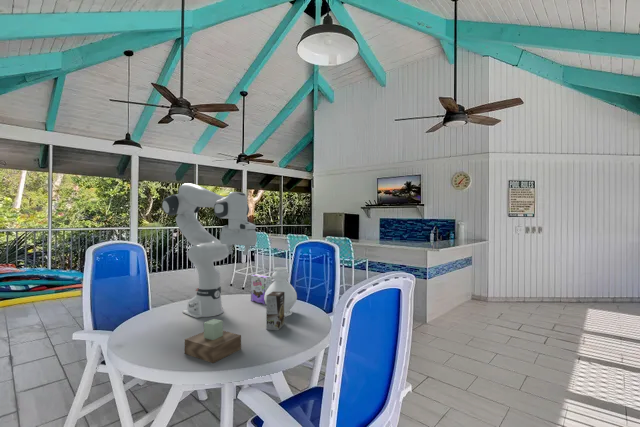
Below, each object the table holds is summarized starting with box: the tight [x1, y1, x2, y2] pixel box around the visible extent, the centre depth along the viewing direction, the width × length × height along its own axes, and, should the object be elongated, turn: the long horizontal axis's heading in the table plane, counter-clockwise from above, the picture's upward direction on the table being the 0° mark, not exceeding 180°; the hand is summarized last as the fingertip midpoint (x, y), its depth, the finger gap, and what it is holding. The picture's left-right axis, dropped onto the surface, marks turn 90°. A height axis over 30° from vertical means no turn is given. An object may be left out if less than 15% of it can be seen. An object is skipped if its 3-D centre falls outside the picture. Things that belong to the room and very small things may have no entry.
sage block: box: [203, 318, 224, 340], centre depth 124 cm, size 5×5×6 cm
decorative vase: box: [264, 266, 298, 318], centre depth 172 cm, size 18×18×25 cm
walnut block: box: [184, 330, 242, 364], centre depth 124 cm, size 16×14×6 cm
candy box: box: [250, 273, 273, 305], centre depth 196 cm, size 14×6×16 cm, turn 50°
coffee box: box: [265, 292, 285, 331], centre depth 151 cm, size 9×6×16 cm
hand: (237, 254), depth 150 cm, fingers open, 8 cm apart
